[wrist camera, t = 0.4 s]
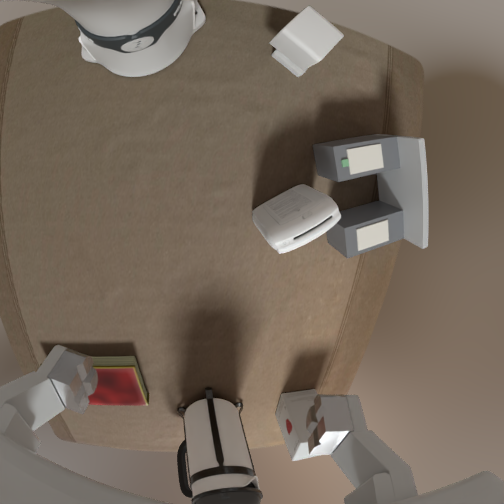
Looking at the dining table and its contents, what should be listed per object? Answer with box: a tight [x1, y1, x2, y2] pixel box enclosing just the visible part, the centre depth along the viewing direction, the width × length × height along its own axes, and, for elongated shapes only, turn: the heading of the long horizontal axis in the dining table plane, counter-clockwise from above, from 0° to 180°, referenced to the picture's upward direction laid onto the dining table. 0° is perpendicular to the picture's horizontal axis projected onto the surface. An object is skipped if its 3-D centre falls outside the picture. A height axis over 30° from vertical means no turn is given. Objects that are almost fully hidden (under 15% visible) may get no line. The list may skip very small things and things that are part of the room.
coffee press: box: [177, 388, 263, 504], centre depth 46 cm, size 17×16×30 cm
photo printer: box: [252, 184, 341, 254], centre depth 40 cm, size 10×4×12 cm, turn 117°
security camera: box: [269, 5, 344, 77], centre depth 32 cm, size 6×7×10 cm
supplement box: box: [275, 389, 318, 461], centre depth 58 cm, size 9×9×15 cm
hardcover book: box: [41, 356, 149, 405], centre depth 49 cm, size 12×21×4 cm, turn 90°
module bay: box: [313, 134, 428, 258], centre depth 42 cm, size 17×13×12 cm
